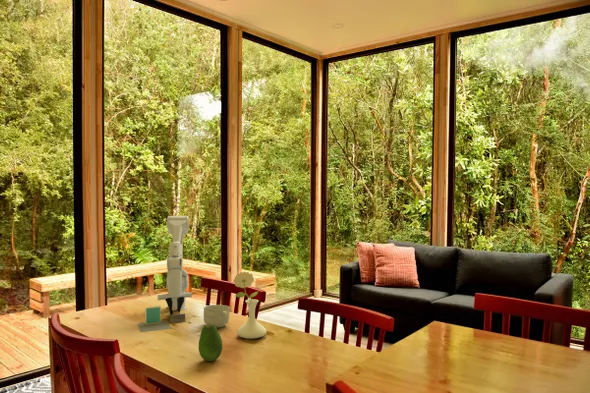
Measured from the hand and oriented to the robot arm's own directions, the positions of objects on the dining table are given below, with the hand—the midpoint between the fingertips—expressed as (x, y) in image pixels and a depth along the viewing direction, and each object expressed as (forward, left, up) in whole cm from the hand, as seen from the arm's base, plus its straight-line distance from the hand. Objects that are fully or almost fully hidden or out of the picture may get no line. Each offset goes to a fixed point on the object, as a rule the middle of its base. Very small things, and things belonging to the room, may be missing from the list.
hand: (174, 315), depth 201 cm
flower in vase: (+37, +22, -2) cm, 43 cm away
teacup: (+20, +14, -2) cm, 24 cm away
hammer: (+2, 0, -1) cm, 2 cm away
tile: (+6, -10, -1) cm, 12 cm away
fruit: (+56, +2, -2) cm, 56 cm away
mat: (+10, -10, -1) cm, 14 cm away
